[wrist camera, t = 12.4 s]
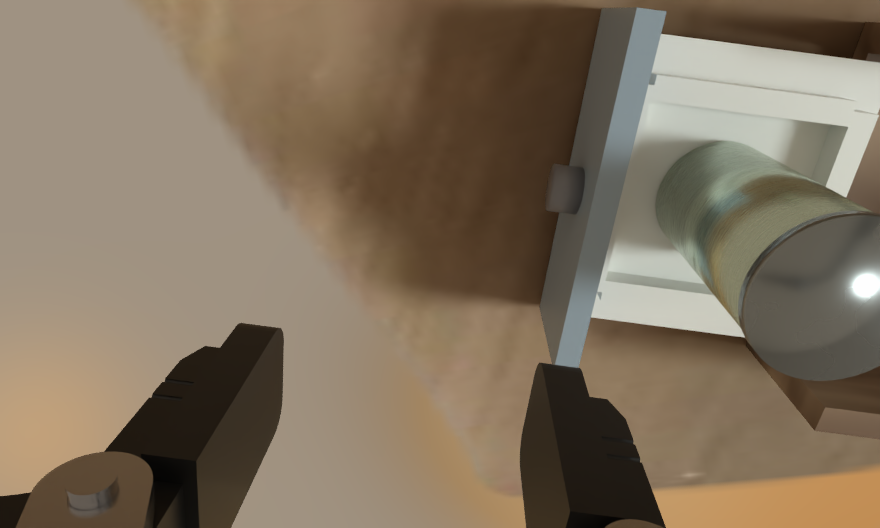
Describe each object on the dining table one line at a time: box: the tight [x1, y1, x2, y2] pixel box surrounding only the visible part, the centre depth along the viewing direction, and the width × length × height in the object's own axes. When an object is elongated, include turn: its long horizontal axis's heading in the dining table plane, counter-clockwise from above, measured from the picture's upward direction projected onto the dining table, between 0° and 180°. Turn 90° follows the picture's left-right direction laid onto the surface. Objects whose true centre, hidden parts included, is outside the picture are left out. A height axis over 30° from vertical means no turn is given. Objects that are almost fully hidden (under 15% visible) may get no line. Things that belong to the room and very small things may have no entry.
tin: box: [655, 141, 880, 381], centre depth 22 cm, size 5×5×10 cm
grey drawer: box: [540, 8, 880, 368], centre depth 26 cm, size 14×13×6 cm
